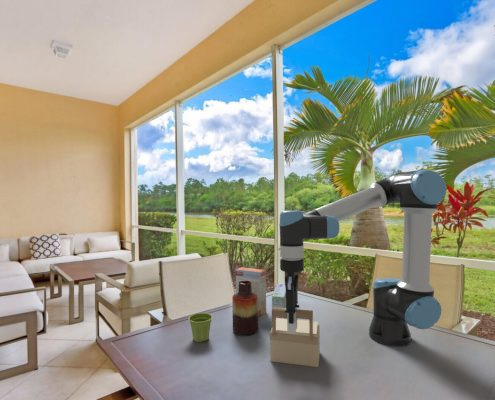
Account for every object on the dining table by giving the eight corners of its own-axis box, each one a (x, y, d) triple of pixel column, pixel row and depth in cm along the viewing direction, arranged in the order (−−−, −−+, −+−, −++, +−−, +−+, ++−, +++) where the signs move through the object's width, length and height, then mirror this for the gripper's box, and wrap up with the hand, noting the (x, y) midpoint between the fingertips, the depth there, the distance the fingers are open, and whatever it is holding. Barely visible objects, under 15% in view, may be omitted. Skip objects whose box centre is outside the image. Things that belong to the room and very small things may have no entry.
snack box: (284, 333, 130) (284, 297, 130) (271, 332, 131) (270, 296, 131) (288, 314, 151) (288, 283, 151) (276, 314, 152) (276, 282, 152)
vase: (262, 333, 131) (261, 283, 130) (237, 337, 127) (237, 286, 126) (252, 323, 141) (251, 277, 141) (229, 327, 137) (228, 280, 137)
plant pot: (206, 346, 120) (206, 323, 120) (184, 342, 123) (184, 320, 123) (216, 335, 129) (216, 314, 129) (196, 332, 132) (195, 311, 132)
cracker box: (266, 312, 154) (266, 269, 153) (260, 316, 149) (260, 272, 148) (242, 307, 161) (242, 266, 161) (235, 311, 156) (235, 268, 156)
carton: (319, 352, 114) (319, 324, 114) (318, 367, 104) (318, 337, 104) (275, 347, 118) (275, 320, 118) (270, 361, 108) (269, 332, 108)
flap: (318, 324, 114) (317, 298, 114) (315, 342, 100) (315, 312, 100) (276, 320, 118) (276, 295, 118) (268, 337, 104) (268, 308, 104)
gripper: (283, 253, 112) (284, 319, 112) (275, 262, 96) (276, 339, 97) (305, 254, 110) (306, 321, 110) (300, 263, 94) (301, 342, 95)
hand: (292, 330), depth 103 cm, fingers closed on flap, 3 cm apart
